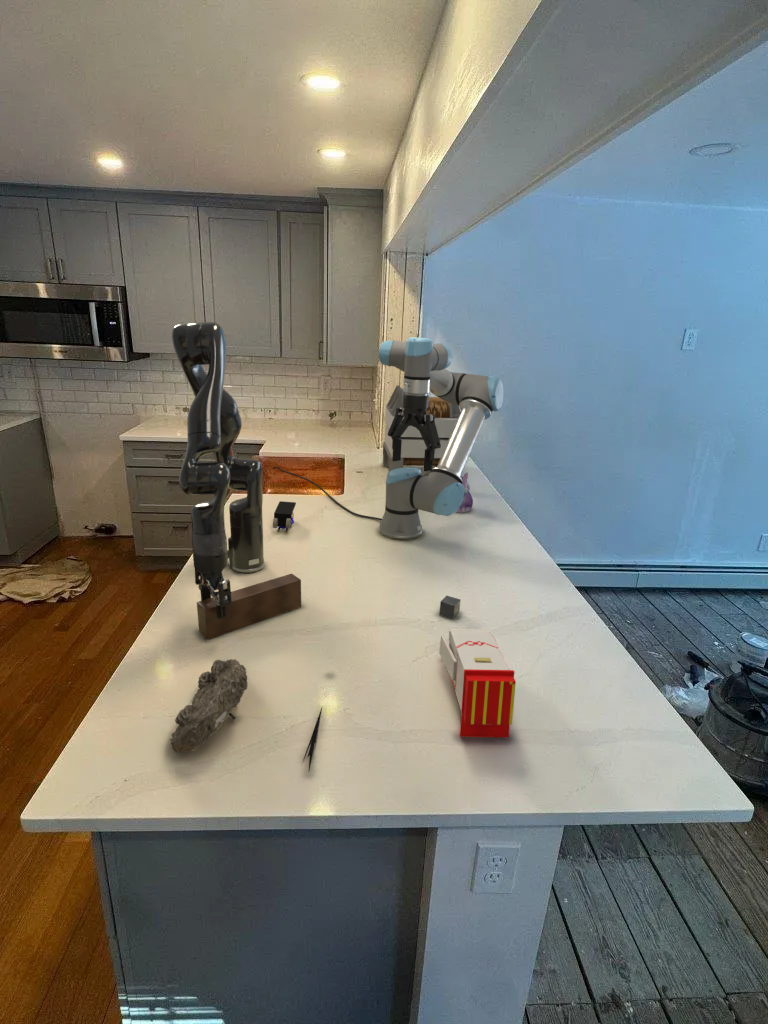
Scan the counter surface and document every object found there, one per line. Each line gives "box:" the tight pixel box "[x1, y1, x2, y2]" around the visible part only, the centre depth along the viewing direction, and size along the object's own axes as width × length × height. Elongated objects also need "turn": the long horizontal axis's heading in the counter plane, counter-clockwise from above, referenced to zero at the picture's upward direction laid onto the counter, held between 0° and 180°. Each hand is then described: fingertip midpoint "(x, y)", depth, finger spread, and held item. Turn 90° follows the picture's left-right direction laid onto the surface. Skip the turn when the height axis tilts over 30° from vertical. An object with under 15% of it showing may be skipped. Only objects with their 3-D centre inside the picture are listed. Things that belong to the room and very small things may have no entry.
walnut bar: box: [196, 573, 302, 640], centre depth 141 cm, size 26×4×8 cm, turn 131°
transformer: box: [381, 384, 461, 472], centre depth 268 cm, size 34×33×41 cm
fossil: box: [170, 658, 249, 753], centre depth 106 cm, size 22×10×15 cm
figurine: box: [455, 472, 474, 514], centre depth 225 cm, size 9×10×15 cm
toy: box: [438, 628, 517, 738], centre depth 117 cm, size 12×13×30 cm
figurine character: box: [272, 500, 297, 533], centre depth 200 cm, size 7×8×15 cm
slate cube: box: [439, 595, 461, 620], centre depth 148 cm, size 4×4×4 cm
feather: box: [301, 673, 332, 771], centre depth 108 cm, size 2×28×2 cm
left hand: (214, 610), depth 134 cm, fingers open, 8 cm apart
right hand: (411, 465), depth 170 cm, fingers open, 13 cm apart
